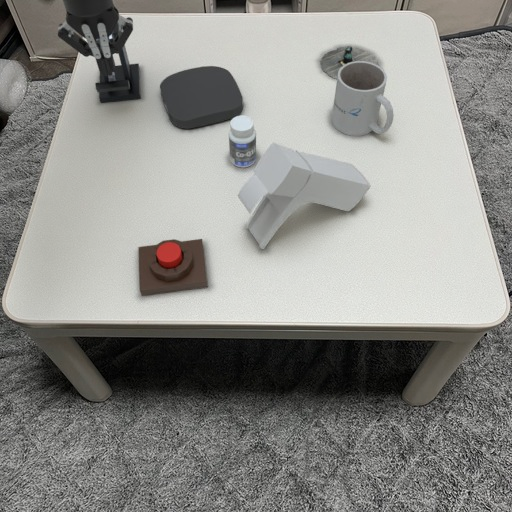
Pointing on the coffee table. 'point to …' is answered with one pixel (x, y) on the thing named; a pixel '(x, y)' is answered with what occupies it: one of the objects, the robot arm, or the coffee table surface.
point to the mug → (360, 99)
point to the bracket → (122, 78)
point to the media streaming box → (201, 96)
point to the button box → (172, 269)
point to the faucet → (296, 188)
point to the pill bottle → (242, 141)
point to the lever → (112, 80)
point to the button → (169, 255)
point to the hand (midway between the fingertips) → (108, 72)
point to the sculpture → (344, 59)
